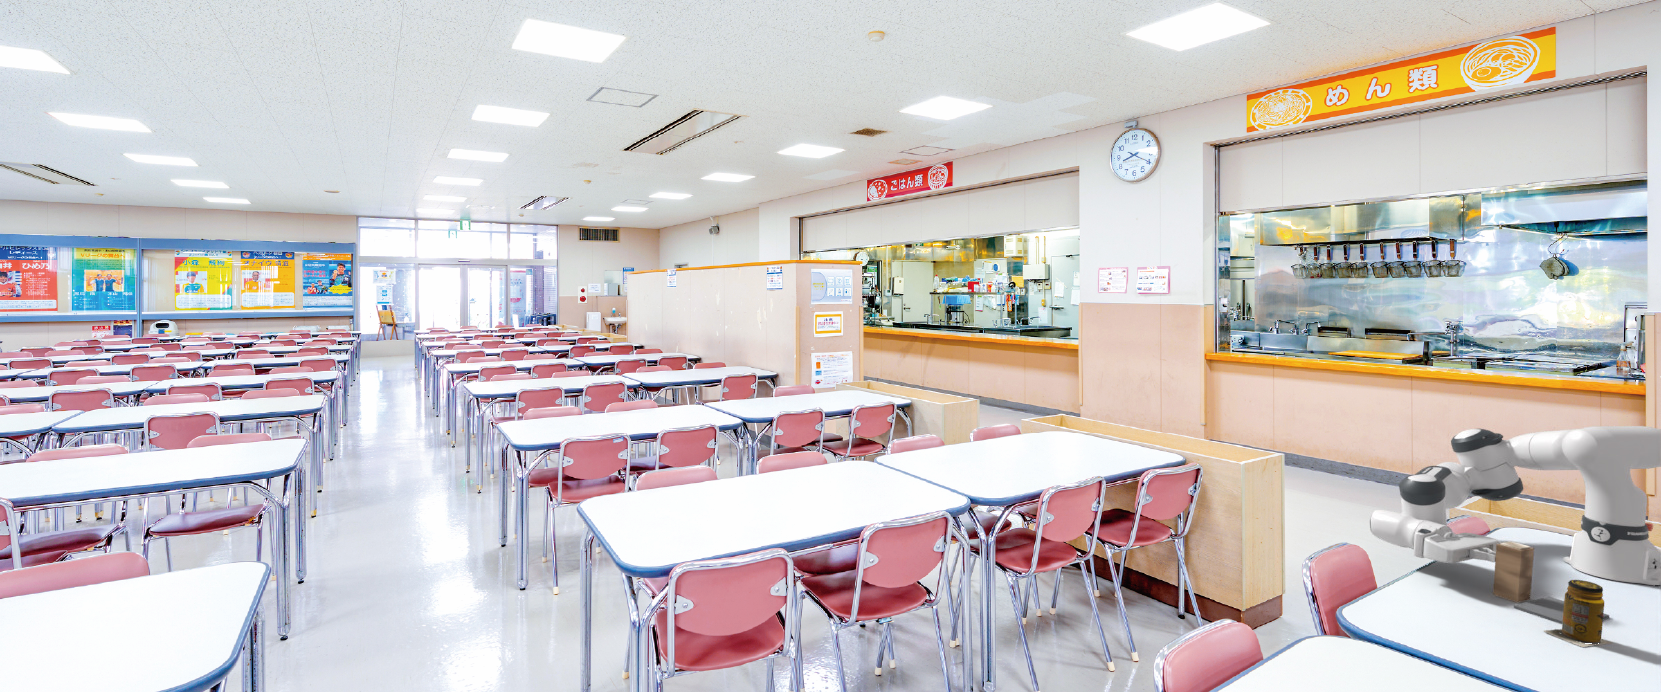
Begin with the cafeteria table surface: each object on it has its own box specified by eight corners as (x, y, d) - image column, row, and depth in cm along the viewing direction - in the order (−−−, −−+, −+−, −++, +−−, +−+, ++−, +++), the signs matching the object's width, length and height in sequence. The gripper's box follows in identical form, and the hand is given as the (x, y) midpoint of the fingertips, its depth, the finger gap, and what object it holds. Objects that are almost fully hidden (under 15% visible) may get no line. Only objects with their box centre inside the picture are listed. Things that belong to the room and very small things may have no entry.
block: (1505, 591, 186) (1509, 540, 185) (1530, 599, 182) (1534, 546, 181) (1492, 594, 184) (1496, 542, 183) (1517, 602, 180) (1521, 549, 179)
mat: (1549, 598, 182) (1549, 596, 182) (1609, 617, 172) (1609, 615, 171) (1513, 607, 177) (1513, 605, 177) (1573, 627, 167) (1573, 625, 167)
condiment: (1612, 643, 159) (1617, 588, 158) (1582, 647, 158) (1587, 592, 157) (1571, 628, 167) (1576, 575, 166) (1542, 632, 165) (1546, 579, 164)
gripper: (1460, 546, 201) (1523, 565, 188) (1410, 557, 194) (1471, 576, 181) (1462, 523, 201) (1525, 540, 188) (1411, 533, 193) (1473, 551, 180)
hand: (1498, 558), depth 184 cm, fingers closed
